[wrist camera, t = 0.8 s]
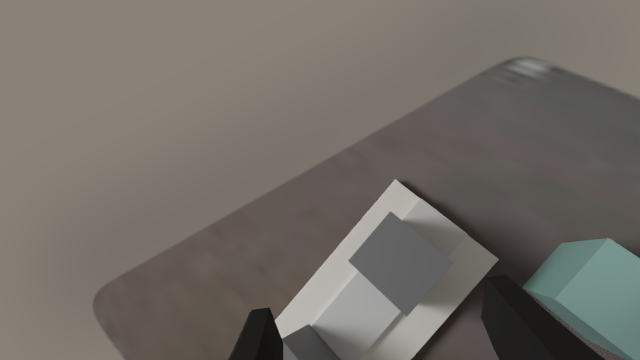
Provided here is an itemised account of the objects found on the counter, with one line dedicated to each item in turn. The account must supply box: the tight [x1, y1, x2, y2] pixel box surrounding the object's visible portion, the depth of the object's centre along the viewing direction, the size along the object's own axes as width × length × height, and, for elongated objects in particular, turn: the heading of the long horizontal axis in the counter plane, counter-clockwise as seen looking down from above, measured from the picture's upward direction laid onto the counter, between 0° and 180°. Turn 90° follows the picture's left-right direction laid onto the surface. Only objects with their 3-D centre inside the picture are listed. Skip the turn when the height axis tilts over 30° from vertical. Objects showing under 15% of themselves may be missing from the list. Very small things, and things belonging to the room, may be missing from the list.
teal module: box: [522, 238, 640, 360], centre depth 19 cm, size 4×4×6 cm
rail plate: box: [275, 180, 499, 360], centre depth 22 cm, size 9×18×6 cm, turn 138°
